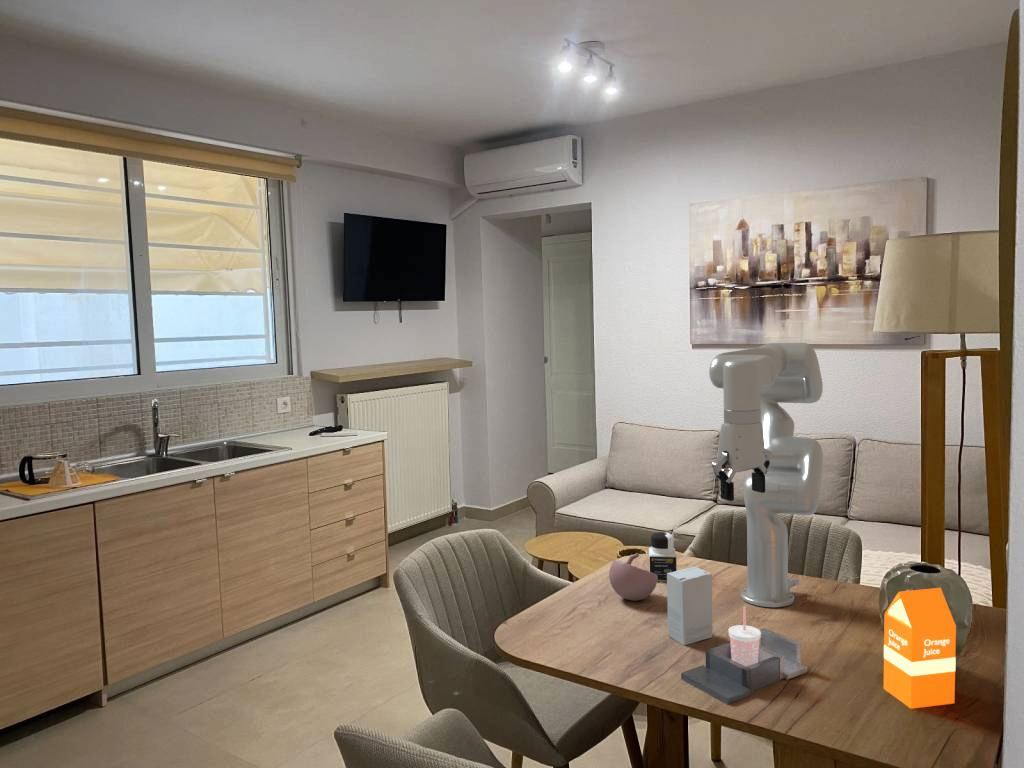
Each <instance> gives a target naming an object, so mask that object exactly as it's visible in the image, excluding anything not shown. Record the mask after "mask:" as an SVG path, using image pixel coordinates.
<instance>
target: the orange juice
mask: <svg viewBox="0 0 1024 768" xmlns="http://www.w3.org/2000/svg"><path fill="white" fill-rule="evenodd" d="M883 621H884V628H883V629H884V631H883V633H884V634H883V636H884V638H883V639H884V640H883V690H885V691H886V692H887V693H889V694H890V695H892V696H893V697H894V698H896V699H897V700H899V701H900V702H902V703H903V704H904V705H905V706H906V707H908V708H909V709H918V708H926V707H934V706H942V705H952V704H955V698H956V697H955V690H956V687H955V685H956V662H957V661H956V660H957V659H956V658H957V657H956V649H957V648H956V644H957V643H956V639H957V638H956V635H957V624H956V623H955V620H954V618H953V616H952V613H951V610H950V607H949V605H948V603H947V601H946V598H945V595H944V592H943V590H942V587H936V588H935V587H933V588H925V589H923V588H922V589H916V590H914V589H913V590H903V591H898V593H897V594H896V595H895V597H894V598H893V600H892V601H891V603H890V604H889V606H888V608H887V609H886V611H885V612H884V620H883Z"/></svg>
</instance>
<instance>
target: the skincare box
mask: <svg viewBox="0 0 1024 768" xmlns="http://www.w3.org/2000/svg"><path fill="white" fill-rule="evenodd" d="M712 578H713V574H712V573H710V572H708V571H706V570H704V569H702V568H700V567H697V566H696V565H695V566H691V567H687V568H684V569H679V570H677V571H675V572H671V573H667V581H666V590H667V591H666V594H667V595H666V597H667V599H666V600H667V635H668V637H669V638H671V639H673V640H675V641H676V642H677V643H679V644H681V645H682V646H687V645H691V644H694V643H697V642H700V641H703V640H708V639H711V638H713V581H712V580H713V579H712Z"/></svg>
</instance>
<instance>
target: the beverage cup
mask: <svg viewBox="0 0 1024 768" xmlns="http://www.w3.org/2000/svg"><path fill="white" fill-rule="evenodd" d="M742 609H743V613H742V616H743V617H742V619H743V620H742V624H738V625H733V626H730V627H729V628H728V630H727V631H728V637H729V641H730V642H729V643H730V644H731V658H732V660H733V661H735V662H738V663H740V664H742V665H744V666H749V665H752V664H754V663H757V662H758V654H759V646H760V638H761V636H760V635H761V632H760V629H759V628H757V627H754V626H751V625H747V622H746V621H747V614H746V613H747V610H746V609H747V607H746V605H743V606H742Z"/></svg>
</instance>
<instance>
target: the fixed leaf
mask: <svg viewBox="0 0 1024 768" xmlns="http://www.w3.org/2000/svg"><path fill="white" fill-rule="evenodd" d="M680 677H681V680H682V681H685V682H686V683H688V684H689V685H692V686H693V687H695V688H696V689H699V690H701V691H702V692H704V693H706V694H708V695H710V697H711V696H712V697H714V699H717V700H719V701H721V702H722V703H724V704H726V705H730V704H732V703H735V702H738V701H740V700H743V699H745V698H748V697H750V696H751V693H753V692H756V691H758V690H760V689H762V688H765V687H767V686H771V685H772V684H773V685H774V684H776V683H778V682H779V681H780V680H779V658H776V657H774V656H773V657H771V658H768V659H765V660H763V661H760V662H757V663H754V664H752V665H749V666H744V665H742V664H740V663H738V662H735V661H733V660H732V658H731V644H730V642H727V643H724V644H721V645H718V646H716V647H713V648H709V649H707V650H705V665H703V664H701V665H699V666H696V667H695V668H692V669H688V670H685V671H683V672H681V674H680Z"/></svg>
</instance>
